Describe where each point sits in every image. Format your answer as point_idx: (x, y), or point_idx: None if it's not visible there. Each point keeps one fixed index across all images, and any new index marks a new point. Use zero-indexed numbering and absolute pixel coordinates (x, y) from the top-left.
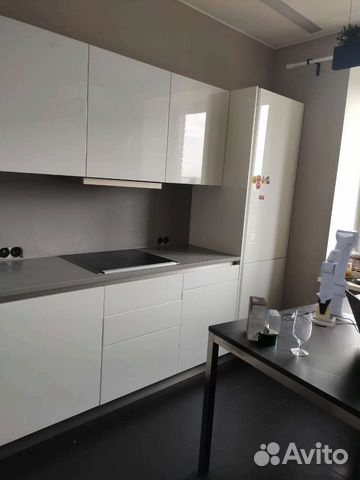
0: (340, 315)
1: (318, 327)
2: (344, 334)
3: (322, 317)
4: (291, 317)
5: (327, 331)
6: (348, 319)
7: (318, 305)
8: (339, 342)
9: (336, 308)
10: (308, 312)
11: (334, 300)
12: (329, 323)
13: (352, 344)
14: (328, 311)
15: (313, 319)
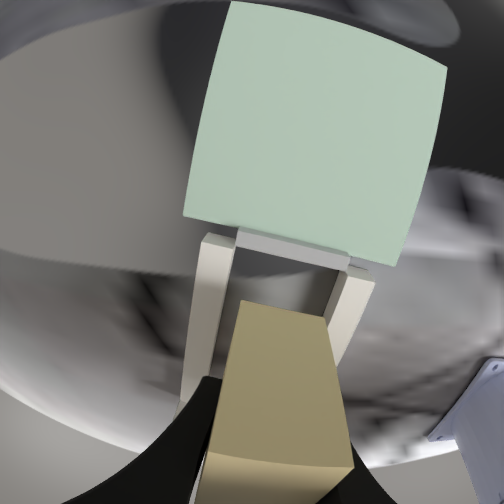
0: (431, 439)
1: (102, 289)
2: (110, 417)
3: (223, 374)
4: (230, 9)
5: (76, 340)
6: (389, 462)
7: (207, 459)
8: (4, 357)
9: (467, 451)
10: (488, 227)
11: (498, 485)
12: (190, 393)
13: (31, 401)
14: (200, 475)
15: (214, 266)
